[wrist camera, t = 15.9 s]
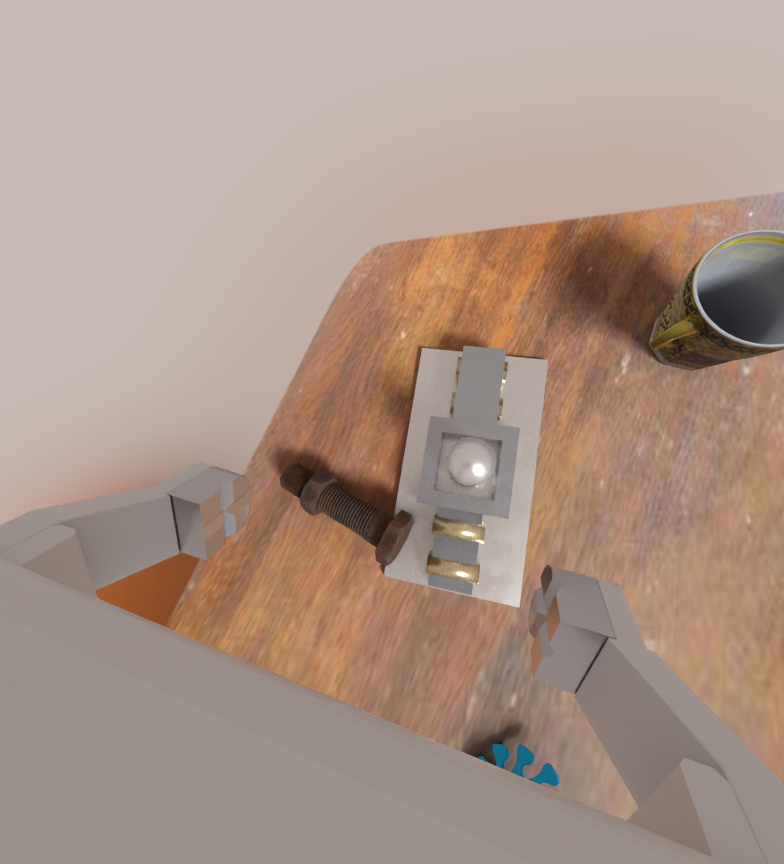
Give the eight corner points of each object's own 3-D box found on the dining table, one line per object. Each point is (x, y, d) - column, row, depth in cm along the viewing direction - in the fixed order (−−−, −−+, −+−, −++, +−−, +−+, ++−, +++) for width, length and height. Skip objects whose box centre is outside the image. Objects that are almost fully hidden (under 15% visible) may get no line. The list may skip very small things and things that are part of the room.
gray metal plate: (384, 574, 38) (377, 583, 35) (422, 349, 42) (419, 336, 38) (518, 605, 35) (525, 618, 32) (546, 362, 39) (556, 349, 35)
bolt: (307, 470, 43) (412, 532, 39) (279, 502, 41) (388, 572, 36) (297, 444, 39) (415, 510, 34) (265, 478, 36) (388, 554, 32)
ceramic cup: (701, 280, 37) (787, 207, 28) (761, 358, 35) (878, 308, 26) (586, 336, 39) (631, 284, 29) (637, 415, 36) (705, 388, 27)
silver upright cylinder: (449, 486, 38) (448, 486, 29) (447, 450, 39) (445, 438, 30) (487, 485, 37) (498, 484, 28) (484, 448, 38) (494, 435, 29)
